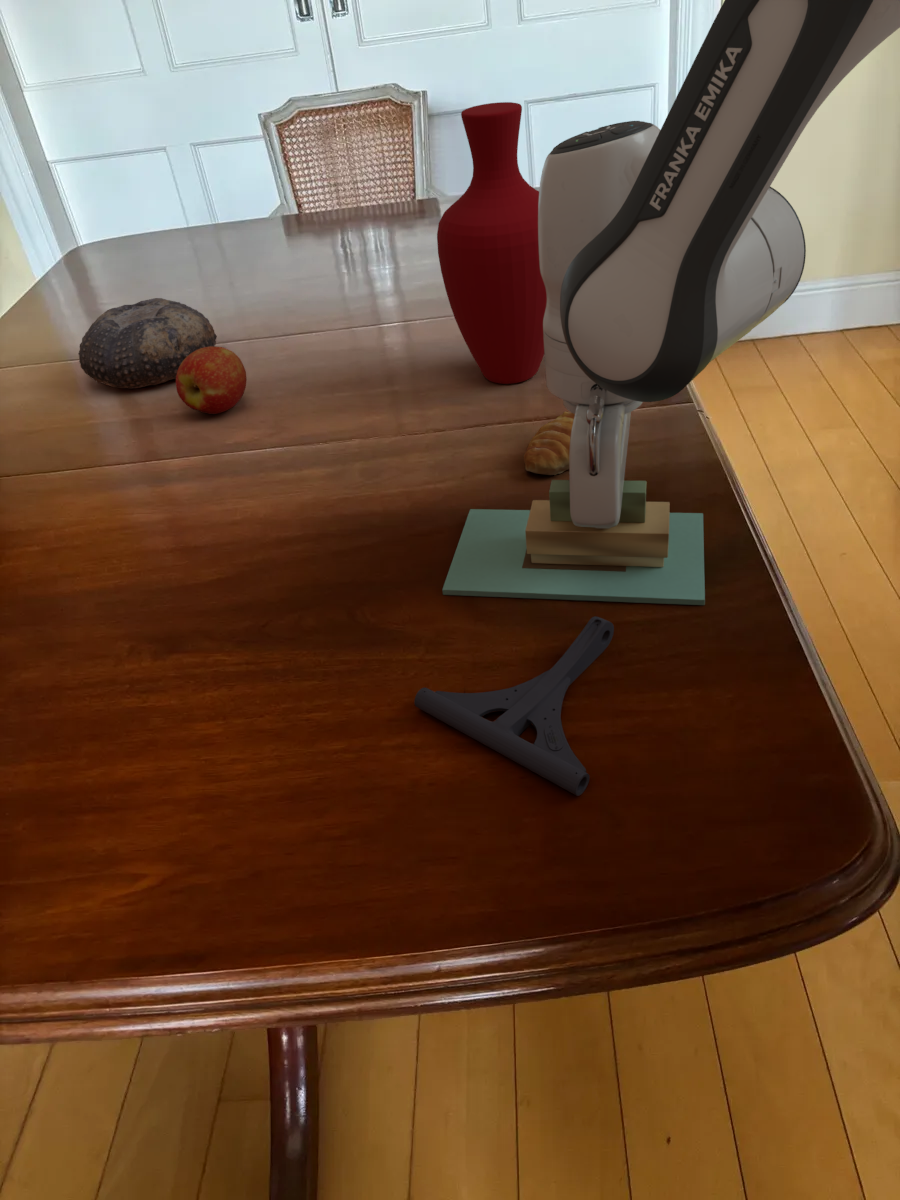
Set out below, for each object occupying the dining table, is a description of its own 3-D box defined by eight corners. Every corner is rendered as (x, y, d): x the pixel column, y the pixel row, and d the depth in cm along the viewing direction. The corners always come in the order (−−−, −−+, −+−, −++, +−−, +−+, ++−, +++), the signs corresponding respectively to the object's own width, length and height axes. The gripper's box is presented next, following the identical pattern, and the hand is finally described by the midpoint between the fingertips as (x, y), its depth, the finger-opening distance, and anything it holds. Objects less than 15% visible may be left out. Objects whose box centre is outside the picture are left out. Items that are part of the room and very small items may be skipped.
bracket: (689, 673, 67) (690, 645, 65) (576, 800, 59) (574, 772, 57) (534, 609, 75) (532, 582, 74) (415, 713, 67) (410, 685, 65)
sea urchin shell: (144, 404, 117) (109, 329, 111) (73, 401, 128) (39, 334, 123) (249, 347, 127) (221, 277, 122) (174, 350, 139) (146, 286, 134)
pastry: (561, 487, 90) (560, 453, 88) (507, 471, 94) (504, 439, 91) (610, 446, 95) (609, 413, 93) (556, 433, 99) (555, 401, 97)
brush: (668, 536, 80) (671, 471, 76) (667, 569, 76) (670, 502, 72) (534, 533, 83) (530, 470, 79) (527, 565, 79) (522, 500, 75)
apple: (176, 420, 113) (156, 360, 108) (216, 391, 119) (199, 333, 114) (227, 426, 110) (209, 365, 105) (265, 397, 116) (250, 337, 111)
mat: (702, 518, 83) (703, 512, 83) (704, 605, 73) (705, 599, 73) (470, 514, 88) (470, 508, 88) (442, 594, 78) (442, 588, 78)
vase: (432, 392, 111) (396, 124, 93) (483, 346, 121) (460, 95, 103) (542, 406, 105) (527, 121, 87) (586, 355, 115) (581, 90, 96)
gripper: (639, 422, 60) (637, 586, 68) (648, 310, 76) (646, 455, 84) (545, 423, 61) (554, 584, 70) (573, 313, 77) (578, 455, 85)
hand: (604, 512), depth 77 cm, fingers closed on brush
